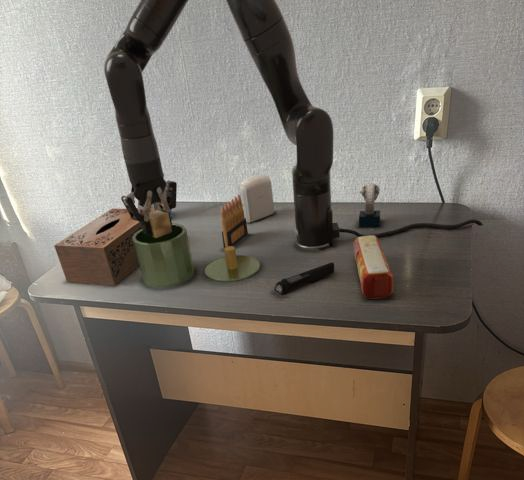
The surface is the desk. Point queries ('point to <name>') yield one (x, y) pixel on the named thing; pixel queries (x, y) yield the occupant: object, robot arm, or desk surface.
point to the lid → (232, 267)
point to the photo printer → (256, 197)
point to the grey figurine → (369, 207)
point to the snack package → (372, 268)
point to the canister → (164, 257)
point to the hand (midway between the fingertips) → (158, 231)
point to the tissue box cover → (100, 249)
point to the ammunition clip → (233, 222)
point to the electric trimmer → (304, 278)
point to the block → (160, 223)
